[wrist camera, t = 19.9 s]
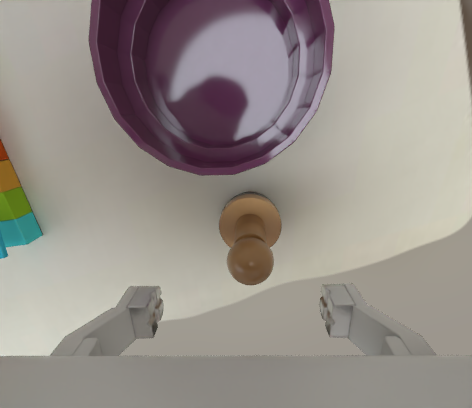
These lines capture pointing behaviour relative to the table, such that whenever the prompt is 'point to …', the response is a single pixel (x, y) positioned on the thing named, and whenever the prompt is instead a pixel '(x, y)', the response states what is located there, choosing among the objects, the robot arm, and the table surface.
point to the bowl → (212, 76)
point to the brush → (250, 236)
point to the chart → (14, 210)
